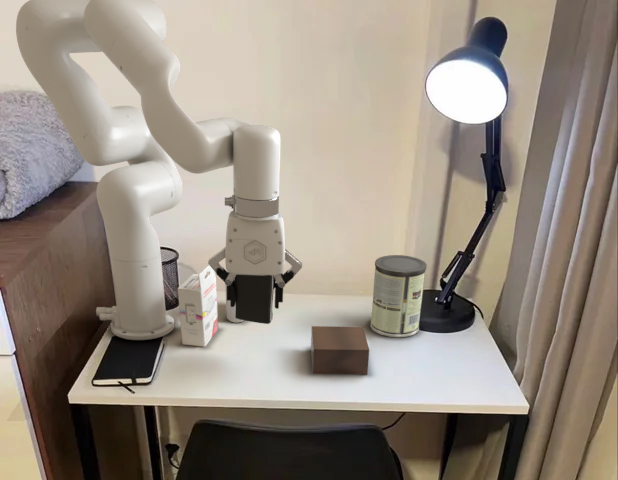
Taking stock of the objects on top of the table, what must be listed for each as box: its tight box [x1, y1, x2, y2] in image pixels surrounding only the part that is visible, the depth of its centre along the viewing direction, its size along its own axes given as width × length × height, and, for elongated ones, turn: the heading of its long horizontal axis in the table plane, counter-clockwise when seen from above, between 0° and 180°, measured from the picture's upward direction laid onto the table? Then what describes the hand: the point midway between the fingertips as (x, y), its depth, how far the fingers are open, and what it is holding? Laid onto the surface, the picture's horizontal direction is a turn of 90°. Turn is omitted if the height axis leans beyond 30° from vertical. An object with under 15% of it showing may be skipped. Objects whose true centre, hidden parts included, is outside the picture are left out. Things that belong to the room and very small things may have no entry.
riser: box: [310, 325, 370, 375], centre depth 124 cm, size 10×10×5 cm
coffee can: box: [370, 254, 428, 338], centre depth 136 cm, size 10×10×14 cm
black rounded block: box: [234, 275, 277, 325], centre depth 118 cm, size 7×4×11 cm, turn 74°
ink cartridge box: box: [177, 264, 219, 347], centre depth 129 cm, size 9×5×15 cm, turn 168°
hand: (254, 304), depth 119 cm, fingers closed on black rounded block, 7 cm apart
